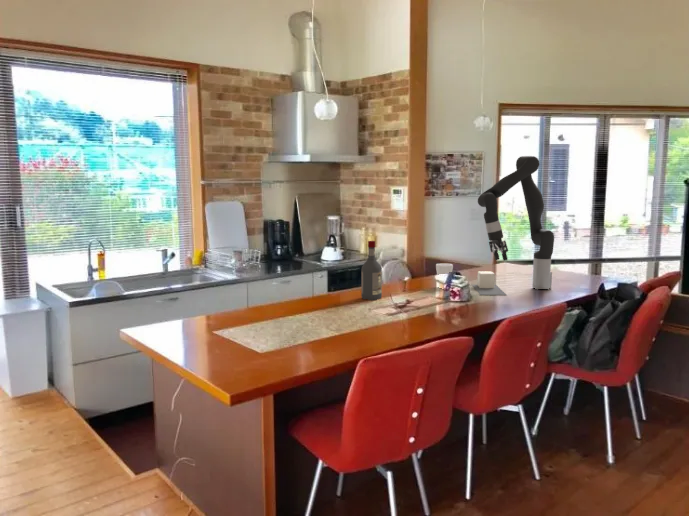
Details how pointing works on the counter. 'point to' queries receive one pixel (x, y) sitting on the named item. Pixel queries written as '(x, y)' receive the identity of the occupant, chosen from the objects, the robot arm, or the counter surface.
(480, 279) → the off-white cube
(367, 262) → the liquor
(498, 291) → the rubber mat
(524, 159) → the robot arm
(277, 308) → the counter surface
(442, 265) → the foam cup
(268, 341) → the counter surface
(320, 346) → the counter surface
